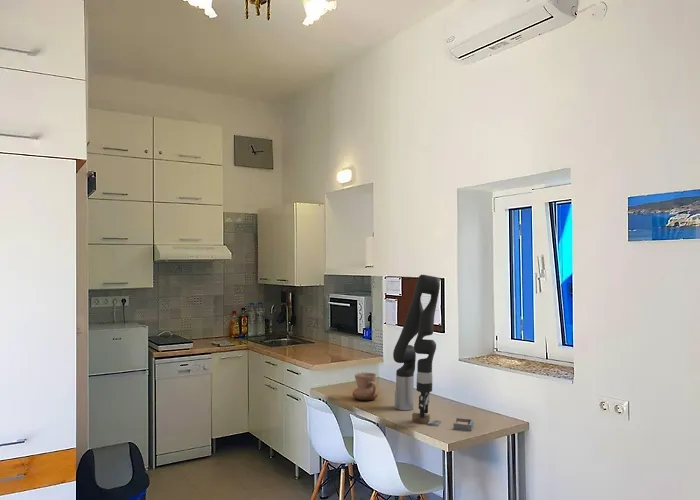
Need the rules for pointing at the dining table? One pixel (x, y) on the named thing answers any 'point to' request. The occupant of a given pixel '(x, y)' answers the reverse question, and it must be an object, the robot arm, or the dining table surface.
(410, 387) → the robot arm
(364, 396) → the ceramic jug
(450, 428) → the dining table surface
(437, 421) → the brown and grey scraper
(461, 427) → the bay
